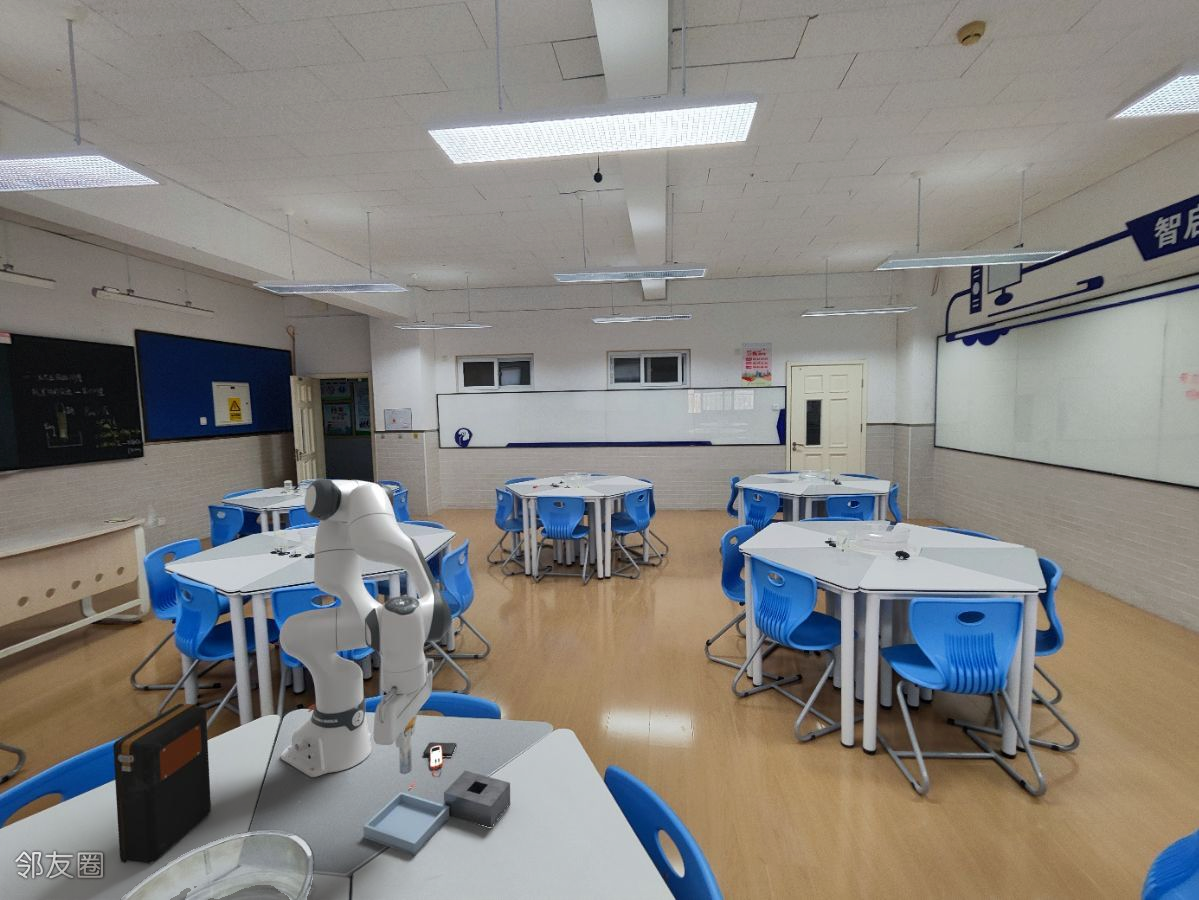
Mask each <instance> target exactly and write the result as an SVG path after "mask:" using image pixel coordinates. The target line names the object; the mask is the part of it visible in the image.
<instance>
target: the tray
mask: <svg viewBox="0 0 1199 900" xmlns="http://www.w3.org/2000/svg"><path fill="white" fill-rule="evenodd" d="M449 818H450V816H449V806H446V805H444V803H443V804H442V803H439V802H437V801H436V802H435V801H433V800H429V799H425V798H423V797H420V796H416V795H413V794H410V793H407V792H403V791H400V792H398V793H397V795H396V796H395V797H393V798H392V799H391V800H390V801H389V802H388V803H387V804H386V805H385V806H384V807H383V808H381V809H380V810H379V811H378V812H377V813H376V814H375V815H374V816H372V817H371V819H370V820H368V821H367V822H365V824H364V825H362V826H363V827H362V828H363V838H364V839H367V840H370V841H373V842H375V843H378V844H381V845H384V846H387V847H389V848H392V849H396V850H398V851H401V852H404V853H407V854H409V855H411V856H416V855H417V854H418V853H419V852H420V851H421V850H422V848H423V847H424V846H426V844H427V843H428V841H430V840H431V839H432V837H433V836H434V835H435V834H436V833H437V832H438V831H439V830H440V828H441V827H442V826H443V825H444V824H445V823H446V822H447V821H448V819H449Z"/></svg>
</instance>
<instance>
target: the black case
mask: <svg viewBox="0 0 1199 900" xmlns="http://www.w3.org/2000/svg"><path fill="white" fill-rule="evenodd" d="M208 739H209V738H208V719H207V709H206V707H204V706H197V705H196V704H195V703H185V704H184V703H177V705H175V706H173V707H171V708H170V709H167V710H166V711H165V712H163V713H162V714H159V715H158V716H157V717H155V718H152V720H149V721H148V722H146V723H145V724H143V725H141V726H140V727H138V728H136V729H134V730H133V731H131V732H129V733H128V734H126V735H124V736H123V737H121V738H119V739H117V740H116V741H115V742H114V743H113V745H112V746H113V760H114V761H113V762H114V764H113V765H114V781H115V795H116V800H115V801H116V813H117V814H116V815H117V831H118V847H119V848H118V849H119V860H120V862H121V863H127V862H135V863H146V864H152V863H154V862H155V861H157V860H158V859H159V858H160V857H162V856H164V854H165V853H166V852H167V851H169V849H171V848H172V847H173V846H174V845H176V844H177V843H178V842H179V841H180V840H181V839H182V838H184V837H185V836H186V835H187V834H188V833H189V832H190V831H192V830H193V829H194V828H195V827H196V826H197V825H199V824H200V823H201V822H202V821H203V820H204V819H206V818H207V817H208V816H209V815H210V814H211V813H212V812H211V811H212V804H211V802H212V801H211V784H210V782H211V781H210V764H209V762H210V761H209V760H210V759H209V743H208V741H209V740H208Z"/></svg>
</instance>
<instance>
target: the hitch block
mask: <svg viewBox="0 0 1199 900" xmlns="http://www.w3.org/2000/svg"><path fill="white" fill-rule="evenodd" d="M509 804H510V805H511V782H509V781H505V780H501V779H498V778H494V777H491V776H486V775H483V774H479V773H475V772H472V771H468V770H464V771H463V772H462V773H461V774H460V775H459V776H458V777H457V779H455V780H454V782H453V783H451V785H450V786H448V787H447V789H446V790H445V791H444V792H443V805H446V806H449V817H452V818H455V819H459V820H462V821H464V822H469V823H471V822H472V823H471V824H474V823H476V824H475V825H478V824H480V825H479V826H481V825H484V826H487V827H492V826H493V824H494V823H495V822H496V821H497V819H498V818H499V817H500V816H501V817H502V815H503V814H504V813H505V812H504V810H505V809H506V808H507V806H508V805H509ZM510 805H509V806H510ZM509 806H508V807H509ZM507 809H508V808H507ZM507 809H506V810H507ZM506 810H505V811H506ZM503 812H504V813H503ZM502 813H503V814H502ZM501 814H502V815H501ZM501 817H500V818H501ZM500 818H499V819H500ZM499 819H498V820H499ZM497 822H498V821H497ZM497 822H496V823H497ZM496 823H495V824H496ZM495 824H494V825H495ZM484 826H483V827H484ZM487 827H486V828H487ZM493 827H494V826H493ZM493 827H492V828H493Z"/></svg>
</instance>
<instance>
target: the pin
mask: <svg viewBox="0 0 1199 900" xmlns="http://www.w3.org/2000/svg"><path fill="white" fill-rule="evenodd" d="M414 724H415V725H416V722H415V717H413V718H412V720H411V721H410V722H409V723H408V725H407V726H406V727H405V731H404V735H407V743H406V744H405V745H404V747H398V748H399V751H398V752H399V753H398V755H399V759H398V760H399V773H400V774H401V775H406V774H409V773H410V772H411V771H412V769H413V768H412V760H413V759H412V736H411V727H413V726H414Z"/></svg>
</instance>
